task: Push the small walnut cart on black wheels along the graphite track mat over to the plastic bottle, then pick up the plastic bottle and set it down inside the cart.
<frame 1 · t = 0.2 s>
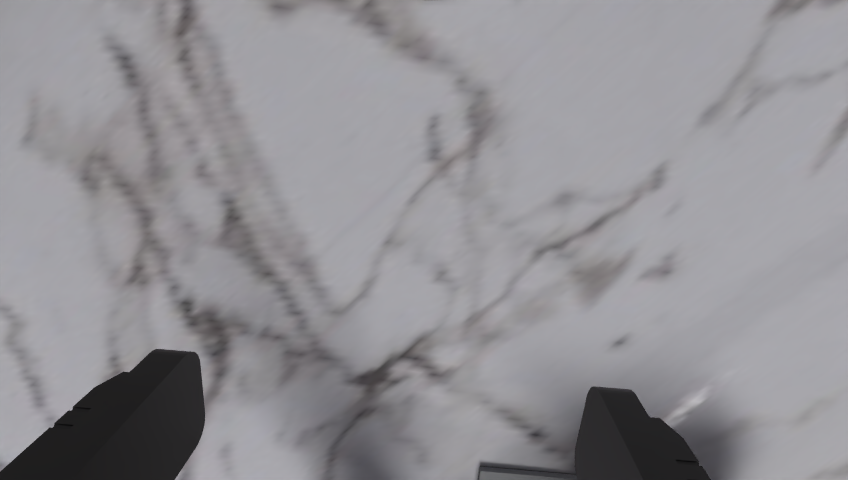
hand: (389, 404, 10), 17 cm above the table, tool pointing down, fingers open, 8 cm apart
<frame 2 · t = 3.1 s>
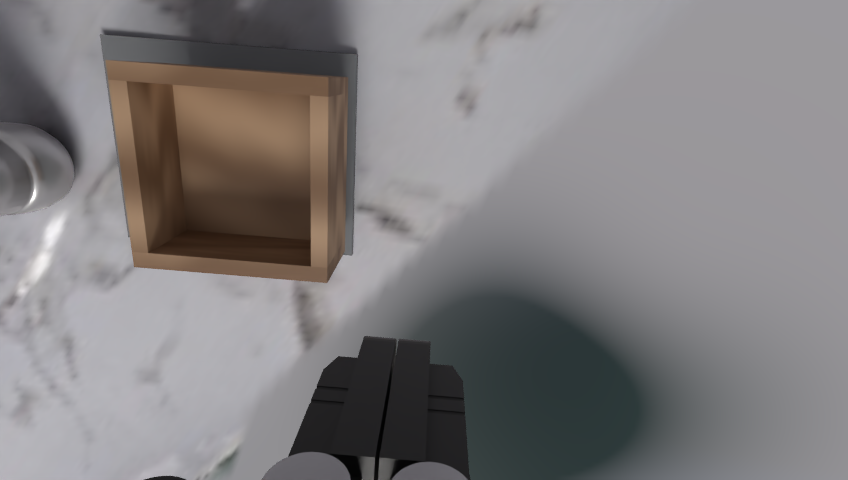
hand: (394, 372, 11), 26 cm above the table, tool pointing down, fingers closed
track mat: (236, 151, 36), on the table
plastic bottle: (47, 161, 37), on the table
cart: (251, 166, 31), point 5 cm above the table, slide at 0.0 cm
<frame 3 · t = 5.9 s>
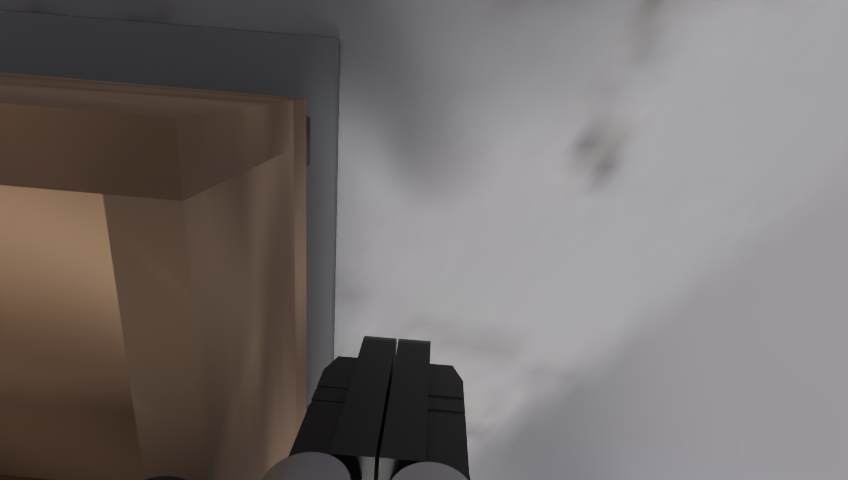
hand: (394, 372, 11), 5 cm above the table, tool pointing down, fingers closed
track mat: (71, 255, 16), on the table
cart: (45, 336, 11), point 5 cm above the table, slide at 0.1 cm, touching gripper
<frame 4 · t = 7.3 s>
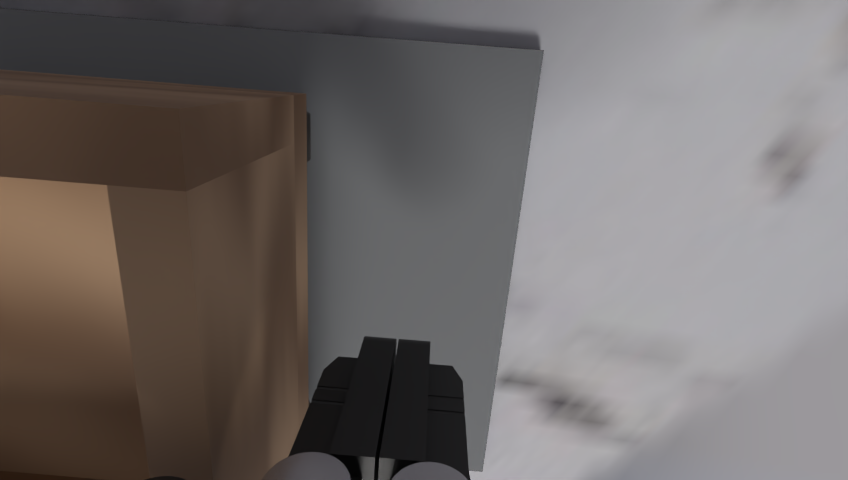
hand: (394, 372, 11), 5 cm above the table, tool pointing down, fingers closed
track mat: (242, 267, 16), on the table
cart: (48, 332, 12), point 5 cm above the table, slide at 5.8 cm, touching gripper
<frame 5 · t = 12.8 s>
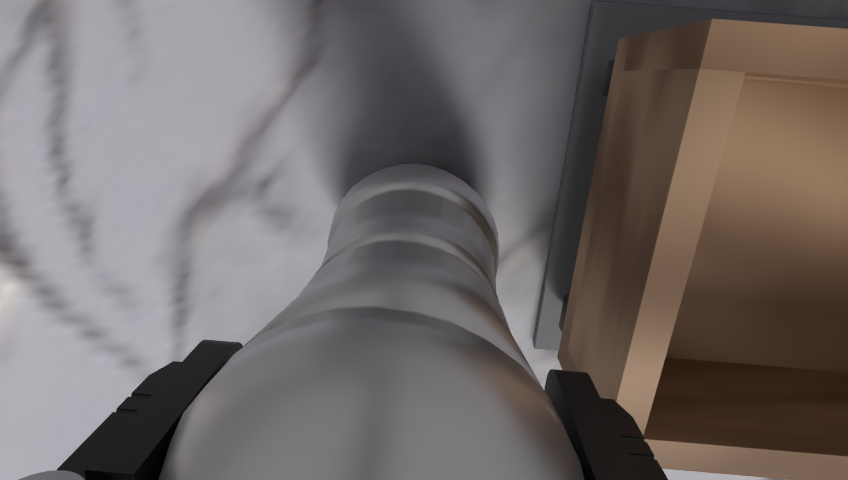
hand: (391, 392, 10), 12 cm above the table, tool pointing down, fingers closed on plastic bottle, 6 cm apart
track mat: (767, 210, 20), on the table
plastic bottle: (418, 225, 21), on the table, touching gripper
cart: (774, 241, 16), point 5 cm above the table, slide at 5.9 cm
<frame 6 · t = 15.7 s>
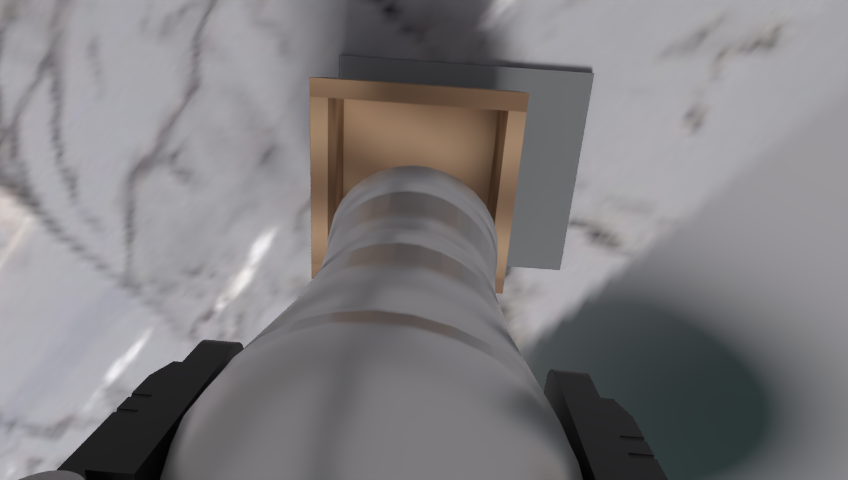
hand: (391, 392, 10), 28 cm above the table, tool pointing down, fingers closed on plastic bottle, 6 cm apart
track mat: (456, 168, 36), on the table
plastic bottle: (417, 226, 21), point 16 cm above the table, touching gripper
cart: (416, 178, 32), point 5 cm above the table, slide at 5.9 cm
when the fingers open (18 cm above the table, at t = 18.6 s): plastic bottle drops 1 cm, resting on cart.
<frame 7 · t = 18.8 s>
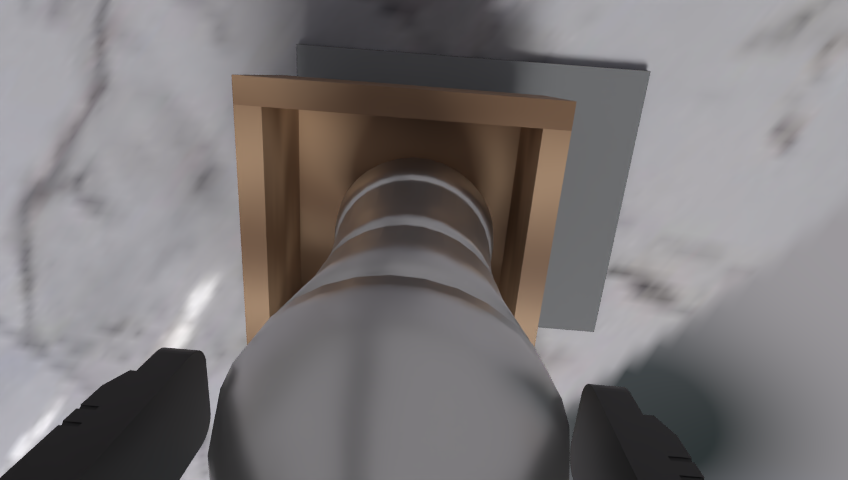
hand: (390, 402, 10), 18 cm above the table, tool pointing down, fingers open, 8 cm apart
track mat: (458, 199, 27), on the table
plastic bottle: (417, 215, 23), point 4 cm above the table, touching cart
cart: (402, 219, 22), point 5 cm above the table, slide at 5.8 cm, touching plastic bottle
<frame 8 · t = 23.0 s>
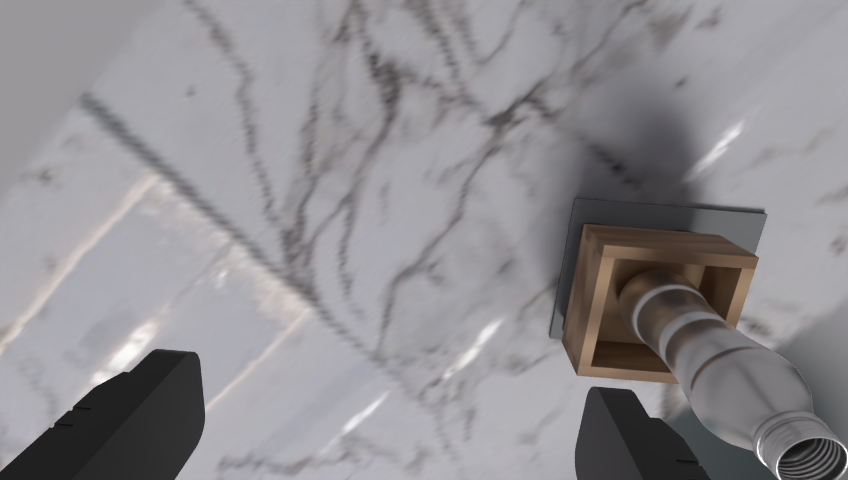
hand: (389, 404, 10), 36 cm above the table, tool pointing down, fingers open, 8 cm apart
track mat: (651, 278, 47), on the table
plastic bottle: (647, 294, 43), point 4 cm above the table, touching cart
cart: (642, 297, 43), point 5 cm above the table, slide at 5.8 cm, touching plastic bottle
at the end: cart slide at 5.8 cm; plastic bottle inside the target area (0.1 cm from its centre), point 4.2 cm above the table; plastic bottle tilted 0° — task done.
